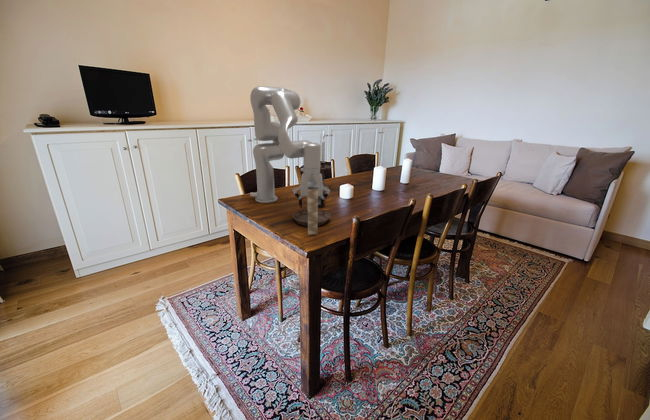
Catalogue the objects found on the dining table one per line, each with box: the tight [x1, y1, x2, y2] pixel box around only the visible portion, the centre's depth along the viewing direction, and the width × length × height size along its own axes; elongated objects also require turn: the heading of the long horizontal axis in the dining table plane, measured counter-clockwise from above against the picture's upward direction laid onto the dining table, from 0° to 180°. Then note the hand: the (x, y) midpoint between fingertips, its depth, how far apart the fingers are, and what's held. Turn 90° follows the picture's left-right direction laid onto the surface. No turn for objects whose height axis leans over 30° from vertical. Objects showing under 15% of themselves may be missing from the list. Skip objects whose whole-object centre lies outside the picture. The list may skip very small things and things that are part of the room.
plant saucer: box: [292, 208, 331, 227], centre depth 134 cm, size 18×18×3 cm
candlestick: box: [320, 133, 332, 189], centre depth 181 cm, size 11×11×35 cm
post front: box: [307, 182, 319, 236], centre depth 120 cm, size 4×8×21 cm, turn 4°
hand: (311, 206), depth 132 cm, fingers open, 9 cm apart
